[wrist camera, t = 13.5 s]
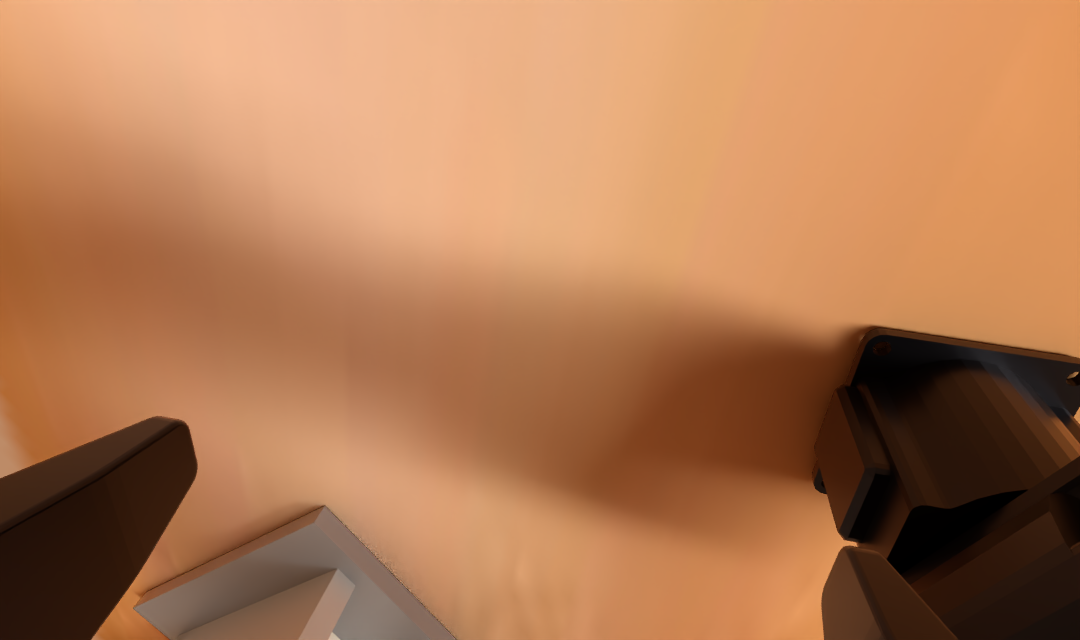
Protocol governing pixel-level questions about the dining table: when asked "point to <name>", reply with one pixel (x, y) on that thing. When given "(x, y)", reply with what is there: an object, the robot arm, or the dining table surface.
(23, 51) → the dining table surface
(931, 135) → the dining table surface
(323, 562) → the slot rack
